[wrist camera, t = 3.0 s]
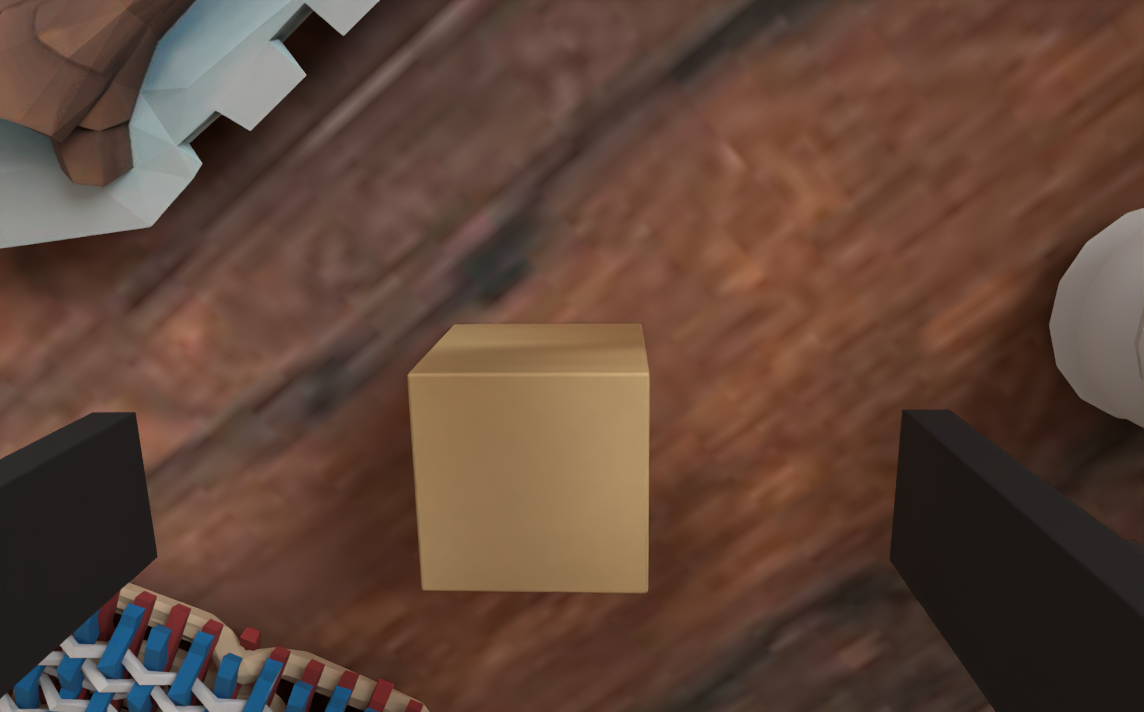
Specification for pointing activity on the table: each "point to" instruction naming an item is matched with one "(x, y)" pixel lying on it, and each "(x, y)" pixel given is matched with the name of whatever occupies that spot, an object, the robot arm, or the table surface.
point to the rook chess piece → (1105, 320)
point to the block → (532, 458)
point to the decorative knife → (130, 101)
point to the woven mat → (186, 668)
